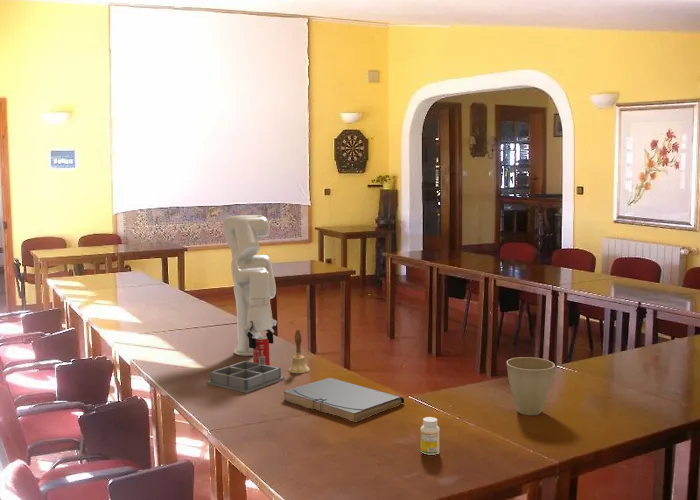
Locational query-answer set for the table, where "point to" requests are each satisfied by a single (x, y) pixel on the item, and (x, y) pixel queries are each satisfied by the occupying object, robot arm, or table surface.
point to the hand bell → (298, 357)
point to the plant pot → (530, 383)
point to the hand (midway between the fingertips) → (261, 345)
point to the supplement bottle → (430, 436)
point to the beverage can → (261, 351)
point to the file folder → (342, 398)
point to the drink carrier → (245, 376)
